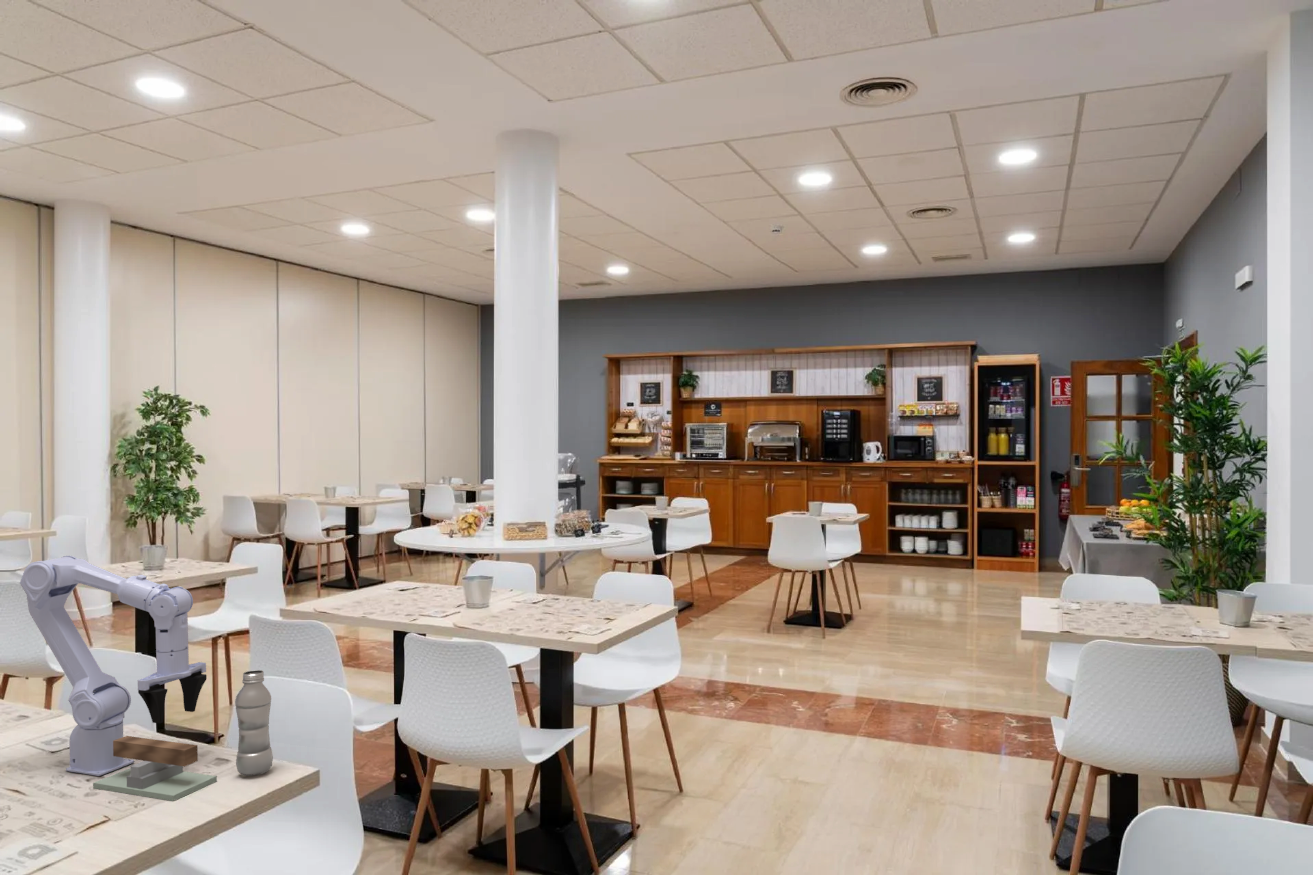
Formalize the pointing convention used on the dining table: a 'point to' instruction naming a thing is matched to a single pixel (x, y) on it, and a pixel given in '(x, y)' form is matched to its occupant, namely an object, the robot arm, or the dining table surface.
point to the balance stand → (155, 781)
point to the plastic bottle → (253, 725)
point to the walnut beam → (155, 750)
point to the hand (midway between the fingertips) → (174, 716)
